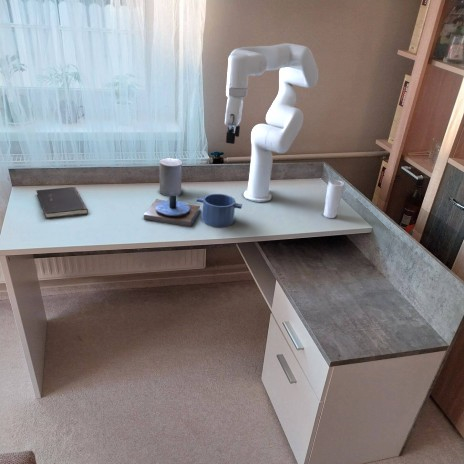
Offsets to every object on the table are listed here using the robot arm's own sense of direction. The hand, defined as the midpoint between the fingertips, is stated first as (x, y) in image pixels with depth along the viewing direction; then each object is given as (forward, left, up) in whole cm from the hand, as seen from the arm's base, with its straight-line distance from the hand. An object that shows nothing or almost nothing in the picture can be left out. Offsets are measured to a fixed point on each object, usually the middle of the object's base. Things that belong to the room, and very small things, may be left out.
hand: (232, 139), depth 185 cm
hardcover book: (+17, -65, -31) cm, 74 cm away
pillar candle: (-12, -28, -31) cm, 43 cm away
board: (+10, -20, -30) cm, 38 cm away
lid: (+10, -20, -28) cm, 36 cm away
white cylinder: (-13, +43, -31) cm, 54 cm away
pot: (+8, -2, -30) cm, 31 cm away
